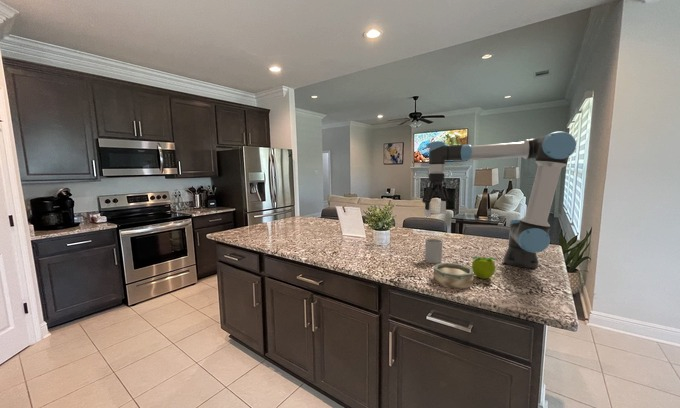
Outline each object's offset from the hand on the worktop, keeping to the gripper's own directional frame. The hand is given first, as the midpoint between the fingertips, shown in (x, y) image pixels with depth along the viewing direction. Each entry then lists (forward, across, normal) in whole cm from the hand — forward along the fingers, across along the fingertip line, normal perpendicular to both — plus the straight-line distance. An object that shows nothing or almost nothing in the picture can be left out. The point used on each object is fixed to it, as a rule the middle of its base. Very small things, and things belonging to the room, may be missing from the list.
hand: (435, 214), depth 146 cm
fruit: (+26, +2, +26) cm, 36 cm away
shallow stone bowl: (+25, +16, +19) cm, 35 cm away
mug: (+26, -4, -3) cm, 26 cm away
